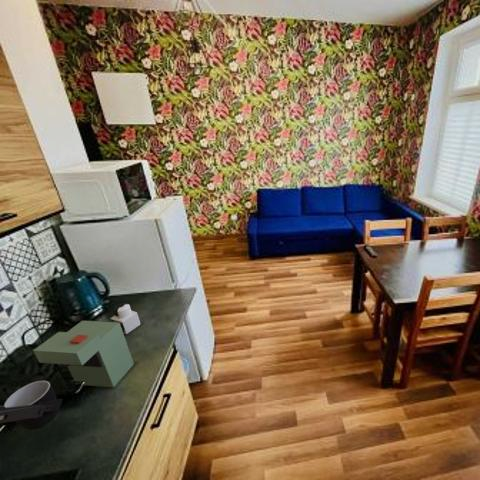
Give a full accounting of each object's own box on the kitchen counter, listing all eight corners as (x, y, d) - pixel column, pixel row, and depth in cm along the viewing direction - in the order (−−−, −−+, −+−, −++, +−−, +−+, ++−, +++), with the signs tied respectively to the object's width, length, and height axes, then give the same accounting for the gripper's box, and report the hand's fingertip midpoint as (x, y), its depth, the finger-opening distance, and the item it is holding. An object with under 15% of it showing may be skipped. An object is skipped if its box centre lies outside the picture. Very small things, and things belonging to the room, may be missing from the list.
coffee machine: (59, 400, 88) (31, 348, 80) (99, 361, 103) (79, 314, 94) (99, 403, 88) (75, 351, 79) (134, 364, 102) (117, 316, 93)
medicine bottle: (114, 331, 119) (106, 309, 114) (129, 320, 125) (122, 299, 120) (126, 334, 117) (118, 312, 112) (141, 324, 123) (134, 302, 118)
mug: (67, 398, 82) (53, 375, 78) (60, 423, 75) (45, 399, 71) (12, 419, 76) (-5, 395, 72) (-1, 449, 69) (-21, 424, 65)
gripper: (-126, 440, 55) (-2, 415, 76) (-24, 449, 54) (73, 421, 74) (-102, 398, 58) (11, 385, 79) (-5, 406, 57) (84, 390, 77)
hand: (41, 402), depth 77 cm, fingers closed on mug, 10 cm apart
